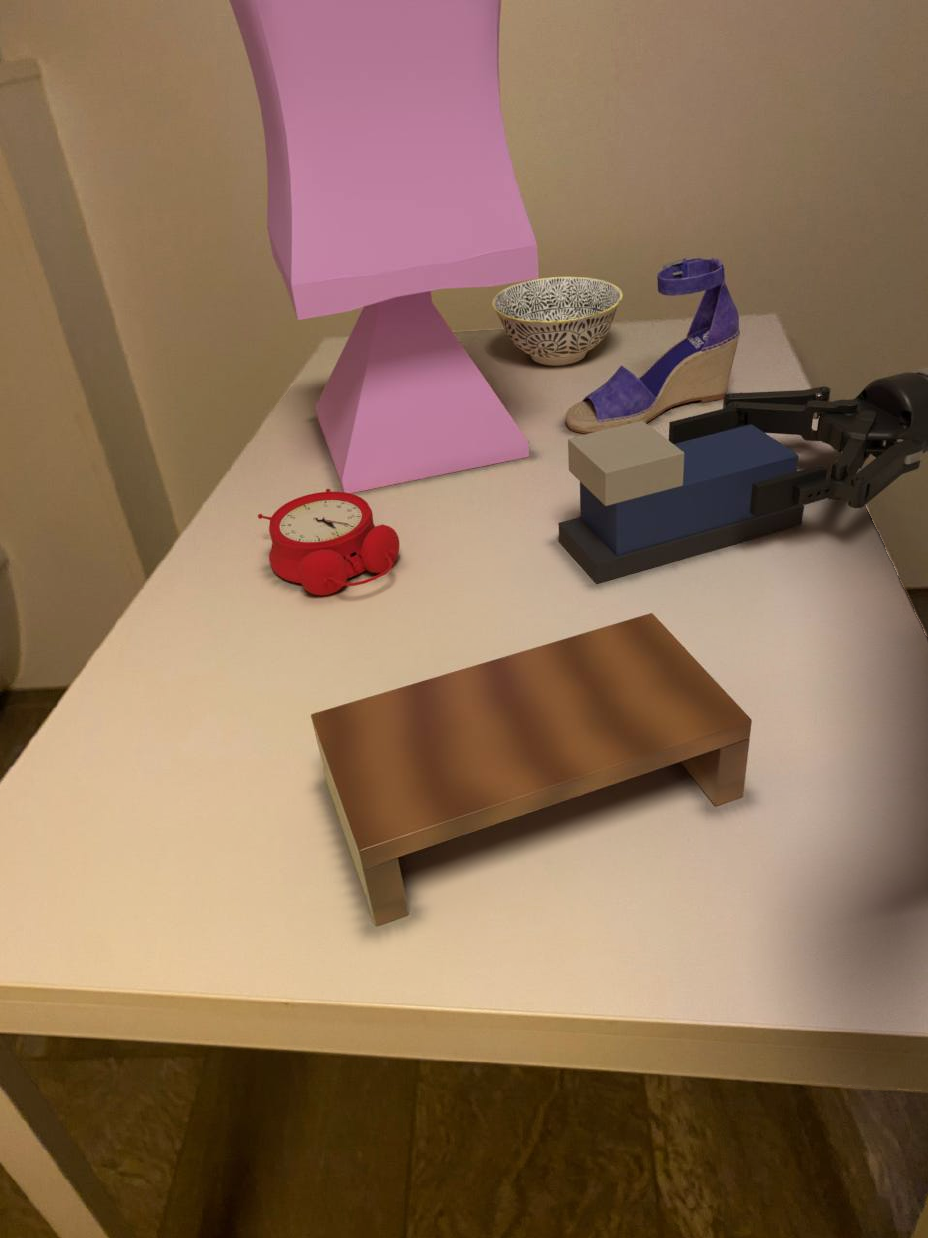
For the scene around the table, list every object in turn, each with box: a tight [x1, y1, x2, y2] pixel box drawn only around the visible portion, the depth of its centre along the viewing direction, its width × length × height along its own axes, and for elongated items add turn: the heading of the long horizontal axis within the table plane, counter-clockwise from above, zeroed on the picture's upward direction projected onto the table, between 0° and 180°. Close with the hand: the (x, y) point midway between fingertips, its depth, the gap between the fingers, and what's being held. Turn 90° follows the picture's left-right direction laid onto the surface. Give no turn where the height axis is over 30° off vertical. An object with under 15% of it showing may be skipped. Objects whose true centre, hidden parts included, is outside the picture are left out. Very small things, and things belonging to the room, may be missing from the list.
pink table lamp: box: [229, 0, 540, 494], centre depth 93 cm, size 22×22×45 cm
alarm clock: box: [257, 488, 400, 596], centre depth 85 cm, size 10×6×15 cm
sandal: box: [565, 257, 741, 435], centre depth 102 cm, size 8×20×15 cm, turn 100°
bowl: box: [491, 276, 624, 367], centre depth 120 cm, size 16×16×8 cm
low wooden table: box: [310, 612, 753, 927], centre depth 60 cm, size 24×12×6 cm, turn 110°
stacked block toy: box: [558, 421, 805, 585], centre depth 83 cm, size 20×8×10 cm, turn 110°
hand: (709, 466), depth 83 cm, fingers open, 12 cm apart
